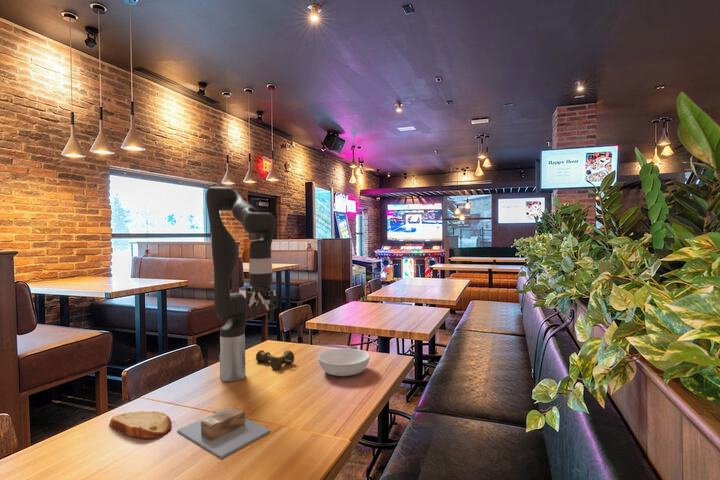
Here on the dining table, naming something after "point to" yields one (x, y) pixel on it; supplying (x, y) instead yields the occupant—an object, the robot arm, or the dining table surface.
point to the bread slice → (142, 424)
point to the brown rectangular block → (222, 423)
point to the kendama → (275, 358)
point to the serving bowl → (344, 361)
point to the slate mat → (225, 436)
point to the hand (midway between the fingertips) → (261, 319)
